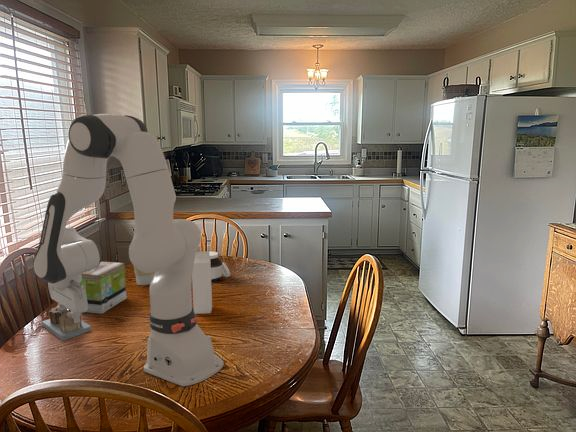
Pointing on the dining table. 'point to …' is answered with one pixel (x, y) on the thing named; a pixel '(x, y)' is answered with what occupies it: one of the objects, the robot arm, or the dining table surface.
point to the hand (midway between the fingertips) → (70, 318)
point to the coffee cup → (143, 277)
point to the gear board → (67, 334)
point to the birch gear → (68, 323)
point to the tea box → (104, 286)
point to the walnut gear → (55, 315)
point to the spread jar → (217, 267)
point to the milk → (202, 283)
